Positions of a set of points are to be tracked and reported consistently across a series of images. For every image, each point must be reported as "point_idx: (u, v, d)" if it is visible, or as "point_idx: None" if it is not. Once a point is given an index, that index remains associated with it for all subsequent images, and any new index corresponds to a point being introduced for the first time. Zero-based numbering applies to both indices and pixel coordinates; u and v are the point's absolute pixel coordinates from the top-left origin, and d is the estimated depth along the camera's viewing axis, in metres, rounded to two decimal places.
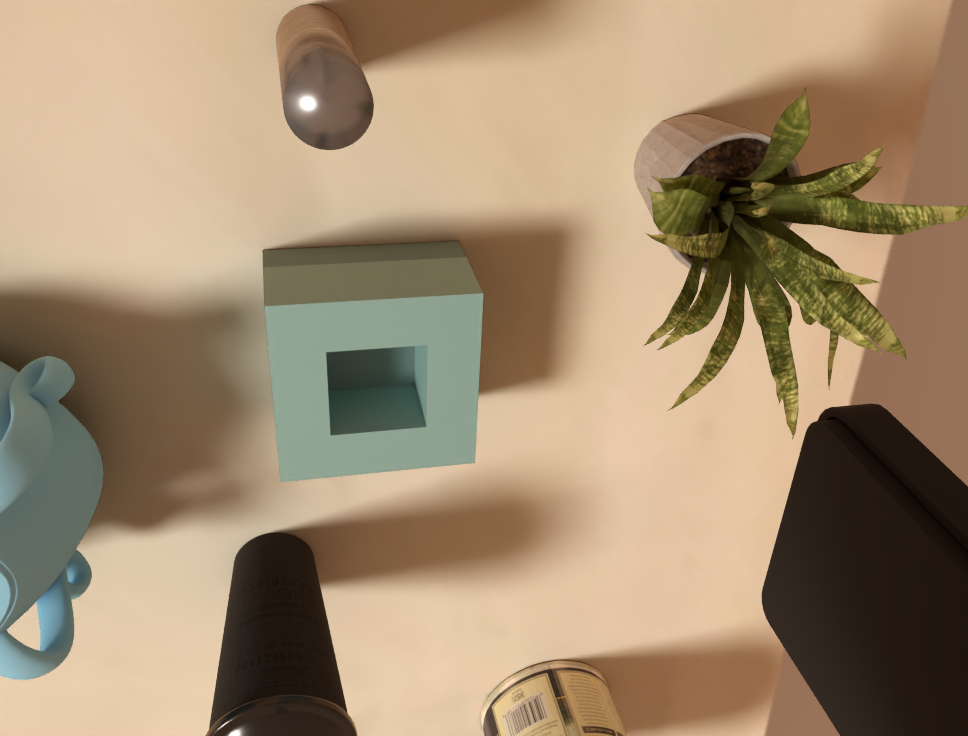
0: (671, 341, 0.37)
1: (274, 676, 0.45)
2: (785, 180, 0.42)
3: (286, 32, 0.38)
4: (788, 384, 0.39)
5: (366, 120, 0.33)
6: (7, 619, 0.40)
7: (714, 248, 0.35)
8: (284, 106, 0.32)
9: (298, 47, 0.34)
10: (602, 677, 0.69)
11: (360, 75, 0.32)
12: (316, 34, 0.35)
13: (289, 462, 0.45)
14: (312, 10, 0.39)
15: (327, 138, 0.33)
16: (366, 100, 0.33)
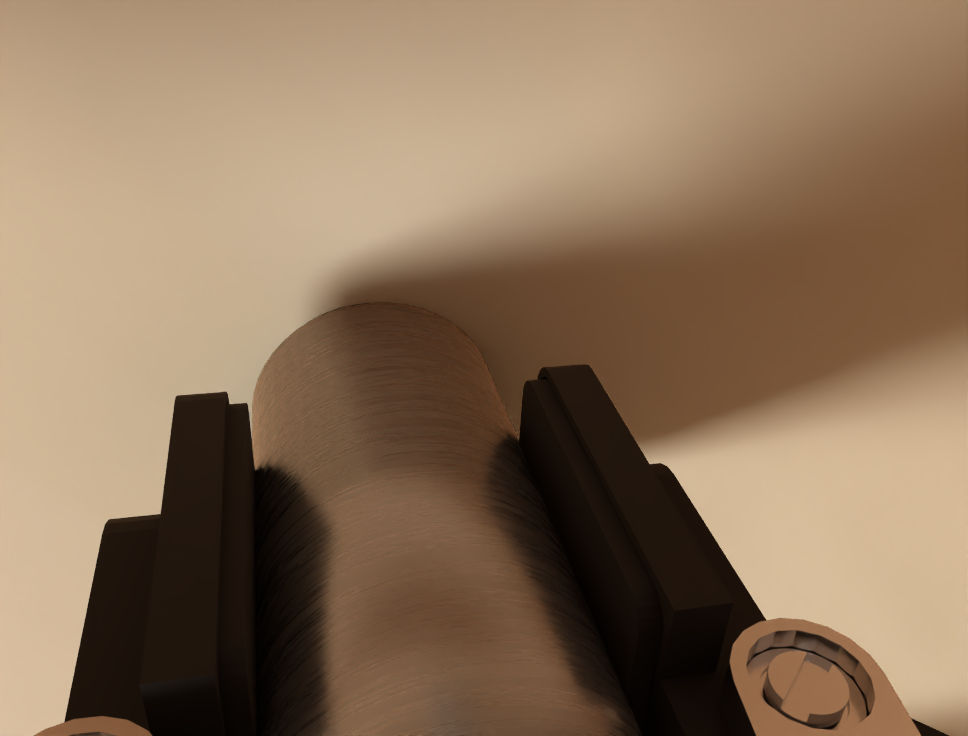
0: None
1: None
2: None
3: (287, 500, 0.09)
4: None
5: None
6: None
7: None
8: None
9: None
10: None
11: None
12: (450, 680, 0.06)
13: None
14: (386, 354, 0.10)
15: None
16: None
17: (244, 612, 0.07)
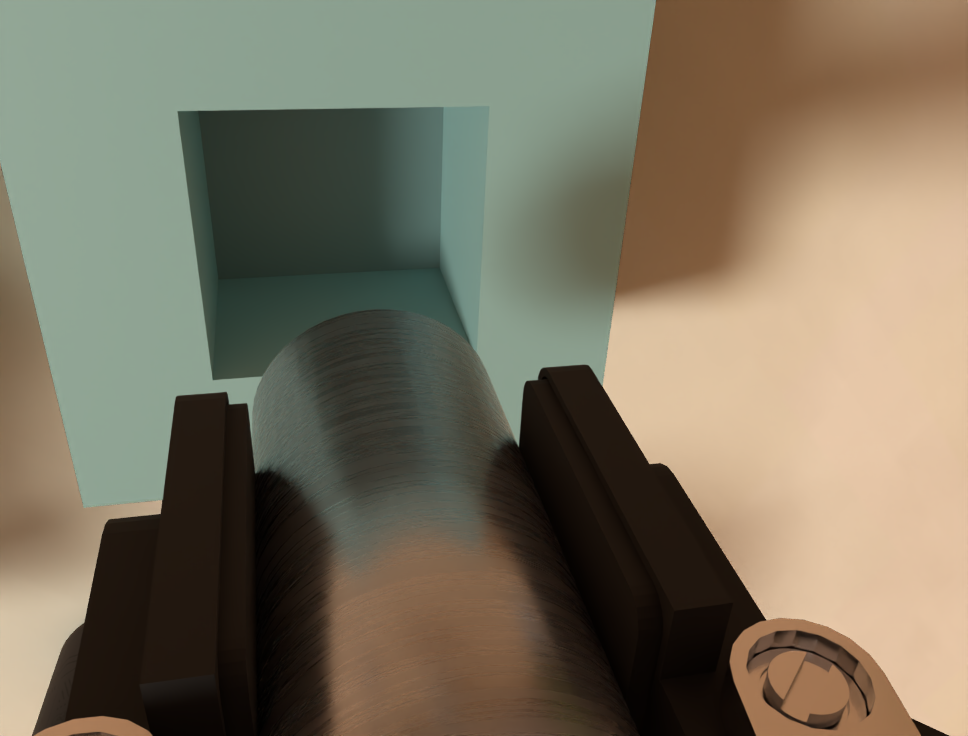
0: None
1: None
2: None
3: (287, 508, 0.09)
4: None
5: None
6: None
7: None
8: None
9: None
10: None
11: None
12: (451, 692, 0.06)
13: (102, 454, 0.17)
14: (386, 361, 0.10)
15: None
16: None
17: (244, 612, 0.07)
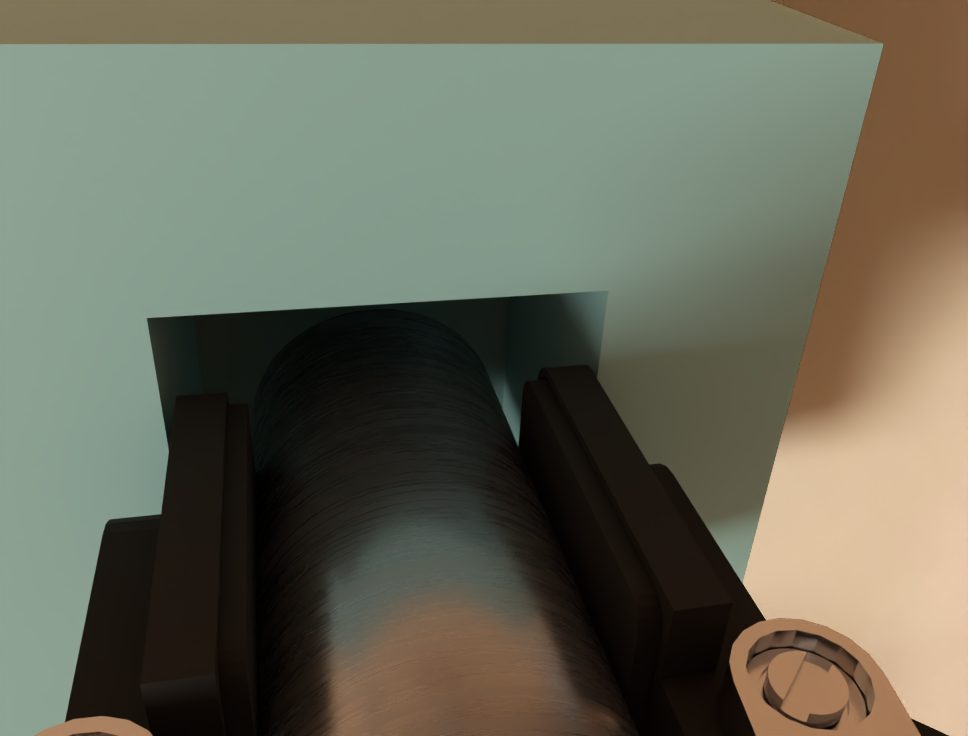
0: None
1: None
2: None
3: (287, 507, 0.09)
4: None
5: None
6: None
7: None
8: None
9: None
10: None
11: None
12: (451, 690, 0.06)
13: None
14: (386, 360, 0.10)
15: None
16: None
17: (245, 612, 0.07)
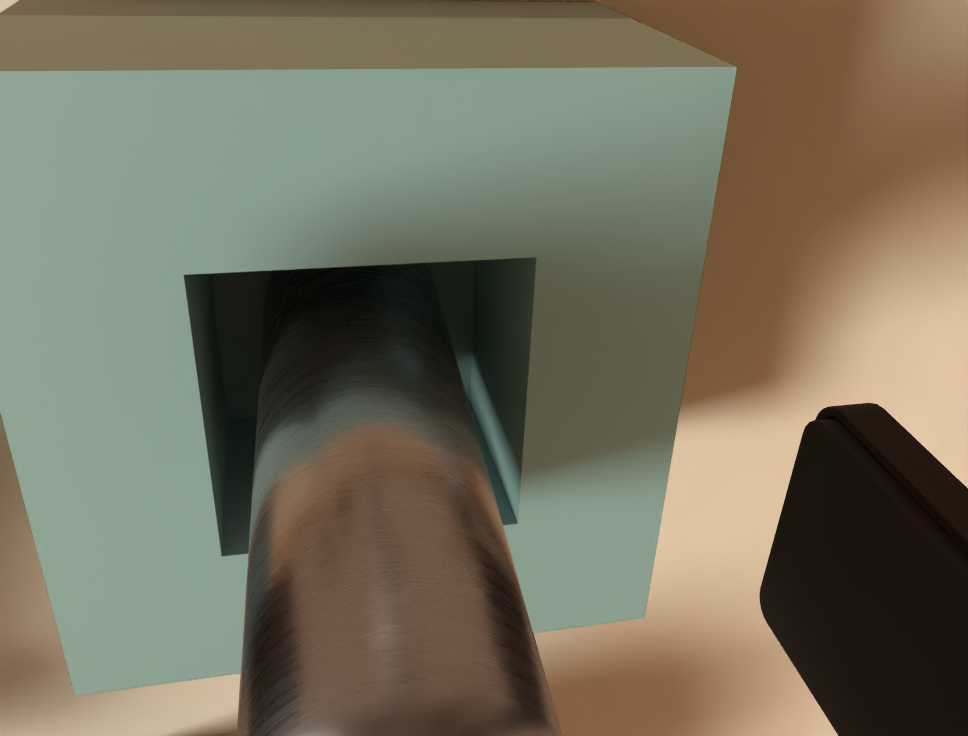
0: None
1: None
2: None
3: (281, 343, 0.14)
4: None
5: None
6: None
7: None
8: None
9: (303, 493, 0.10)
10: None
11: (531, 712, 0.08)
12: (363, 418, 0.11)
13: (96, 638, 0.15)
14: None
15: None
16: None
17: None
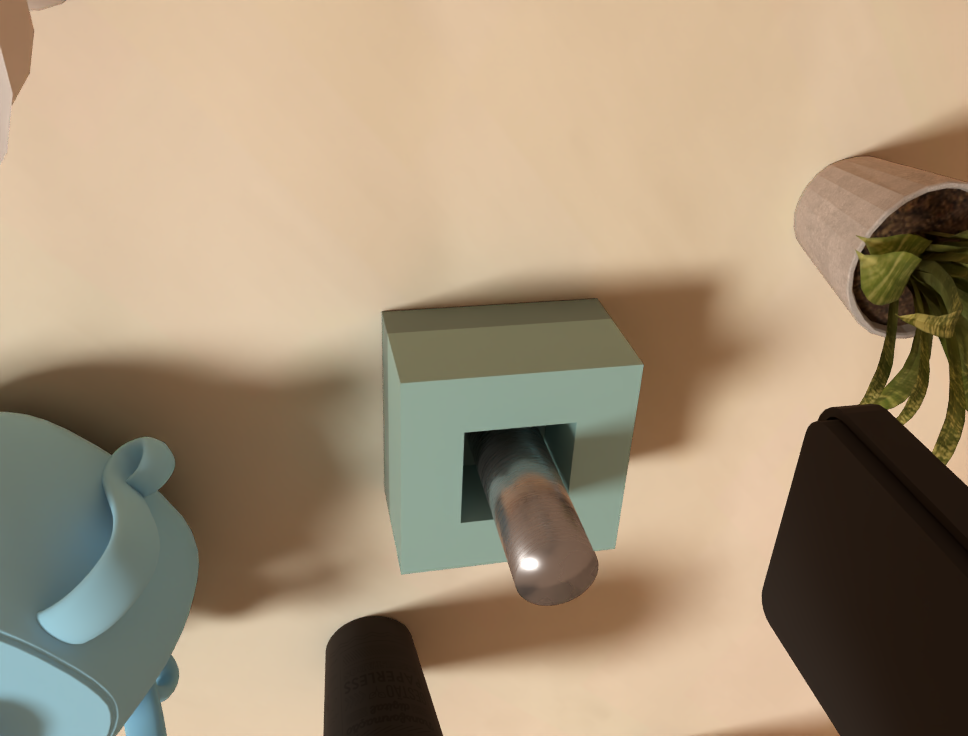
0: None
1: None
2: None
3: (487, 444, 0.39)
4: None
5: (589, 580, 0.34)
6: None
7: (955, 325, 0.30)
8: (516, 578, 0.34)
9: (517, 496, 0.36)
10: None
11: (589, 548, 0.34)
12: (529, 472, 0.36)
13: (413, 552, 0.40)
14: None
15: (551, 597, 0.34)
16: (592, 566, 0.34)
17: None
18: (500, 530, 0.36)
